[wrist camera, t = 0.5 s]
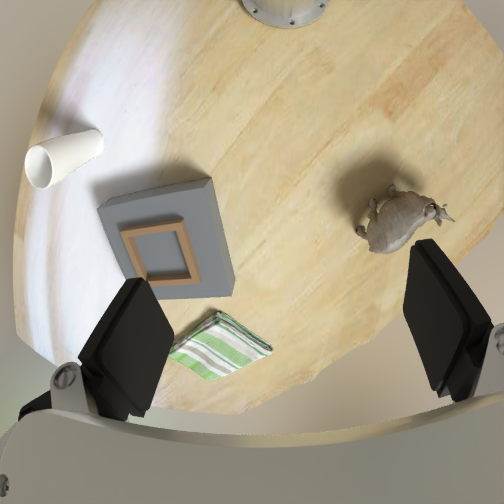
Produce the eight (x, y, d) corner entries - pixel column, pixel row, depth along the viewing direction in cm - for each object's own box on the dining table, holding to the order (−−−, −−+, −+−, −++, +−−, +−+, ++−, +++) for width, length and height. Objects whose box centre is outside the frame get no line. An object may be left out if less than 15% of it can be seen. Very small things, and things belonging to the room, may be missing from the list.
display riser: (110, 198, 47) (92, 212, 41) (211, 177, 44) (201, 190, 38) (144, 285, 57) (132, 305, 51) (235, 279, 54) (230, 301, 48)
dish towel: (275, 346, 64) (275, 357, 61) (215, 378, 74) (213, 388, 71) (219, 306, 59) (216, 318, 56) (165, 347, 69) (161, 357, 66)
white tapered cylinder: (79, 126, 40) (21, 146, 27) (108, 123, 40) (50, 142, 27) (81, 161, 43) (27, 190, 31) (110, 160, 43) (56, 190, 30)
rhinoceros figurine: (332, 212, 42) (415, 235, 30) (378, 169, 45) (452, 180, 33) (346, 249, 46) (420, 278, 34) (388, 204, 49) (456, 222, 37)
